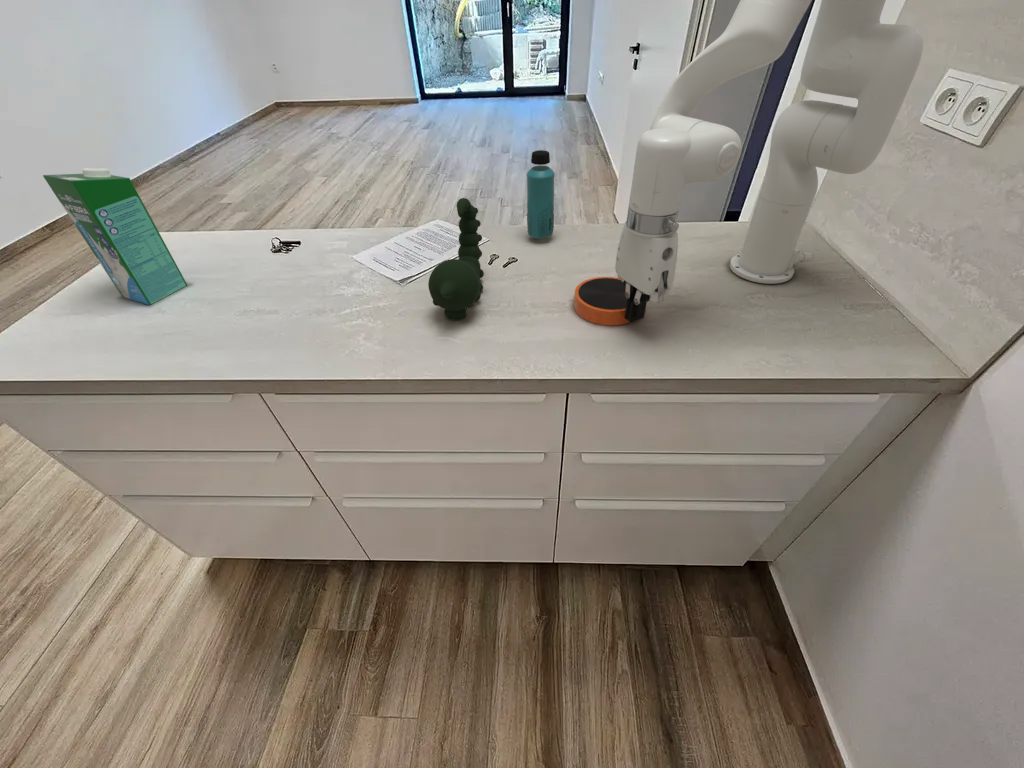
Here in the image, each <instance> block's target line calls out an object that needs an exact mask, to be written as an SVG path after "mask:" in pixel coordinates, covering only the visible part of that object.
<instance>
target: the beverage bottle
mask: <svg viewBox="0 0 1024 768" xmlns="http://www.w3.org/2000/svg"><path fill="white" fill-rule="evenodd" d="M550 157H551V156H550V151H548V150H545V149H544V150H543V149H540V150H534V151H532V152H531V158H530V163H531V164H533V165H534V166H532V167H531V168H529V170H528V171H527V173H526V195H527V196H526V212H527V213H526V224H527V225H526V226H527V231H526V232H527V234H528V236H529V237H531V238H534V239H546V238H549V237H551V236H552V235H553V234H554V229H555V228H554V227H555V223H554V222H555V171H554V170H553V169H552V168H551V167H550V166H547V165H548V164H550V162H551V158H550Z"/></svg>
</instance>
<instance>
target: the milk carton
mask: <svg viewBox="0 0 1024 768" xmlns="http://www.w3.org/2000/svg"><path fill="white" fill-rule="evenodd" d="M81 171H82V173H63V174H60V173H59V174H43V175H42V177H43V178H44V180H45V182H46V183H47V185H48V186H49V188H50V189H51V191H52V192H53V194H54V195H55V196H56V198H57V200H58V202H59V203H60V204H61V206H62V208H63V209H64V210H65V212H66V213H67V215H68V217H69V218H70V220H71V221H72V223H73V224H74V225H75V227H76V229H77V230H78V232H79V234H80V235H81V237H82V238H83V240H84V241H85V243H86V244H87V246H88V247H89V249H90V250H91V251H92V253H93V254H94V256H95V258H96V260H97V261H98V262H99V264H100V265H101V267H102V268H103V270H104V271H105V273H106V275H107V276H108V277H109V279H110V280H111V282H112V284H113V286H114V287H115V288H116V289H117V291H118V293H119V295H121V297H122V298H124V299H128V300H131V301H135V302H137V303H141V304H145V305H147V306H151V305H153V304H155V303H157V302H158V301H161V300H162V299H164V298H166V297H168V296H170V295H172V294H174V293H175V292H178V291H179V290H181V289H183V288H185V287H187V286H188V283H187V281H186V279H185V278H184V276H183V274H182V272H181V270H180V269H179V267H178V265H177V263H176V261H175V259H174V257H173V255H172V253H171V252H170V250H169V249H168V246H167V244H166V243H165V241H164V239H163V237H162V235H161V234H160V231H159V230H158V228H157V225H156V224H155V222H154V221H153V219H152V217H151V214H150V213H149V211H148V209H147V207H146V206H145V204H144V202H143V200H142V198H141V196H140V194H139V193H138V191H137V189H136V187H135V185H134V184H133V182H132V180H131V178H130V177H125V176H120V175H114V174H111V172H110V169H109V168H103V167H101V168H99V167H85V168H81Z"/></svg>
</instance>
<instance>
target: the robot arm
mask: <svg viewBox="0 0 1024 768" xmlns="http://www.w3.org/2000/svg"><path fill="white" fill-rule="evenodd" d="M812 1H813V0H739V2H738V4H737V6H736V8H735V10H734V13H733V15H732V17H731V19H730V20H729V23H728V25H727V26H726V28H725V30H724V31H723V32H722V33H721V34H720V36H718V37H717V38H716V39H715V40H714V41H713V42H711V43H710V44H709V45H708V46H706V47H705V48H704V49H703V50H702V51H701V52H700V53H698V55H696V57H694V58H693V59H692V61H690V62H689V63H688V64H687V65H686V66H685V67H684V68H683V69H682V70H681V72H680V73H678V75H677V76H676V77H675V78H674V79H673V80H672V82H671V84H670V86H669V87H668V89H667V90H666V93H665V94H664V96H663V98H662V100H661V102H660V104H659V106H658V108H657V111H656V113H655V115H654V118H653V120H652V121H651V125H650V127H649V130H646V131H644V132H643V133H642V134H641V135H640V136H639V138H638V141H637V146H636V150H635V151H636V152H635V159H634V166H633V173H632V181H631V188H630V195H629V202H628V208H627V214H626V221H625V222H624V225H623V227H622V231H621V234H620V237H619V238H620V239H619V241H618V246H617V250H616V256H615V257H616V258H615V267H614V268H615V273H616V275H617V278H619V279H620V280H621V281H622V282H623V283H624V286H625V296H626V298H627V299H628V300H627V304H626V310H625V317H624V318H625V319H627V320H628V321H629V323H635V322H636V321H640V320H642V319H644V317H645V314H646V308H647V302H651V303H655V304H659V303H661V302H664V297H665V295H664V294H665V293H664V291H665V290H666V291H669V290H671V289H672V288H673V285H674V284H673V283H674V279H675V275H676V269H677V263H678V262H677V261H678V252H679V251H678V250H679V249H678V248H679V235H678V232H677V231H678V230H679V227H680V224H679V223H678V222H677V220H678V215H679V212H680V211H679V210H680V206H681V202H682V197H683V193H684V188H685V185H686V184H690V183H692V184H693V183H711V182H714V181H717V180H720V179H721V178H724V177H726V176H727V175H728V174H729V173H730V172H731V171H733V169H734V168H735V167H736V165H737V164H738V162H739V160H740V157H741V155H742V148H743V147H742V146H743V145H742V139H741V137H740V135H739V133H737V132H736V131H735V130H734V129H732V128H731V127H728V126H727V125H723V124H719V123H715V122H711V121H706V120H704V119H700V118H695V117H692V116H693V114H694V113H695V111H696V110H697V108H698V106H699V105H700V103H701V102H702V101H704V99H705V98H706V97H707V96H708V95H709V94H710V93H711V92H713V90H715V89H716V88H718V87H719V86H721V85H722V84H725V83H726V82H728V81H730V80H733V79H735V78H737V77H740V76H742V75H745V74H746V73H749V72H752V71H755V70H756V69H757V70H758V69H760V68H763V67H765V66H767V65H770V64H772V63H774V62H775V61H777V60H778V59H779V58H781V56H782V55H783V54H784V53H785V51H786V49H787V47H788V45H789V43H790V41H791V40H792V38H793V36H794V34H795V32H796V30H797V28H798V26H799V25H800V23H801V21H802V19H803V17H804V16H805V13H806V12H807V10H808V8H809V6H811V5H810V4H811V2H812ZM886 1H887V0H821V1H820V5H819V9H818V11H817V15H816V19H815V23H814V25H813V28H812V32H811V34H810V35H811V36H810V38H809V42H808V44H807V48H806V52H805V55H804V59H803V61H802V62H803V63H802V67H801V71H800V82H801V85H802V86H803V87H804V88H805V89H807V90H809V91H811V92H815V93H820V94H825V95H830V96H837V97H843V98H850V99H851V98H852V99H856V100H857V107H856V106H849V105H844V104H840V103H834V102H828V101H824V100H823V101H822V100H812V99H810V100H809V99H808V100H801V101H796V102H794V103H792V104H790V105H788V106H787V107H786V108H784V110H782V112H781V113H780V114H779V116H778V117H777V119H776V121H775V123H774V126H773V129H772V132H771V139H770V147H769V154H768V155H769V156H768V161H767V165H766V170H765V174H764V178H763V181H762V185H761V189H760V190H759V194H758V197H757V201H756V204H755V207H754V210H753V213H752V217H751V219H750V223H749V227H748V229H747V233H746V236H745V238H744V242H743V245H742V248H741V252H740V253H738V254H735V255H733V256H732V257H731V259H730V261H729V268H730V270H731V272H733V273H734V274H735V275H736V276H738V277H740V278H742V279H744V280H747V281H750V282H753V283H758V284H769V285H775V284H776V285H777V284H783V283H786V282H788V281H789V280H791V279H792V278H793V276H794V274H795V268H794V265H797V264H798V263H807V262H811V261H812V260H813V257H814V256H813V253H812V252H811V251H807V252H800V249H799V248H796V246H797V244H798V241H799V239H800V236H801V233H802V231H803V228H804V225H805V223H806V221H807V219H808V217H809V213H810V211H811V208H812V205H813V203H814V200H815V198H816V195H817V192H818V187H819V176H818V170H817V168H820V169H823V170H826V171H827V170H828V171H831V172H836V173H839V174H846V175H855V174H856V175H857V174H859V173H861V172H863V171H865V170H867V169H868V168H869V167H870V166H871V165H872V164H873V163H874V162H875V161H876V159H877V158H878V156H879V154H880V152H881V151H882V150H883V147H884V145H885V143H886V141H887V138H889V137H888V136H889V134H890V132H891V130H892V128H893V126H894V124H895V122H896V121H895V120H896V118H897V116H898V114H899V112H900V110H901V107H902V105H903V103H904V101H905V98H906V96H907V93H908V91H909V90H910V87H911V84H912V83H913V80H914V78H915V75H916V72H917V71H918V68H919V65H920V62H921V59H922V54H923V49H924V39H923V35H922V33H921V32H920V30H919V29H917V28H916V27H914V26H910V25H906V24H895V23H893V24H892V23H881V15H882V12H883V9H884V7H885V4H886Z"/></svg>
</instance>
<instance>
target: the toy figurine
mask: <svg viewBox="0 0 1024 768" xmlns="http://www.w3.org/2000/svg"><path fill="white" fill-rule="evenodd" d="M456 211H457V215H458V217H459V218H460V219H459V221H458V228H459V231H460V233H459V235H458V244H459V247H458V250H457V255H458V256H457V257H458V259H457V258H452V259H451V258H450V259H446V260H443V261H441V262H440V263H439V264H437V265H436V266H435V267H434V268H433V269H432V271H431V274H430V275H429V278H428V282H427V283H428V284H427V286H428V291H429V293H430V297H431V300H432V304H433V306H436V307H439V308H442V309H444V310H443V315H444V316H445V318H447V319H448V320H450V321H461V320H464V319H465V318H466V316H467V312H468V311H467V309H469V308H472V307H473V305H474V304H475V303H476V302H478V301H479V300H480V299H481V296H482V294H481V293H482V291H483V290H484V285H483V284H482V282H481V279H482V278H483V277H484V275H485V272H484V270H483V269H481V263H480V261H479V260H480V258H481V257H482V256H483V252H482V250H481V249H480V247H479V245H480V242H482V240H483V236H482V234H479V233H478V229H479V227H481V225H482V224H481V220H479V219H476V217H477V214H478V213H479V209H478V208H477V207H475V206H473V205H472V203H471V201H470V200H469V199H468V198H465V197H461V198H459V199H458V201H457V202H456Z"/></svg>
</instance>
